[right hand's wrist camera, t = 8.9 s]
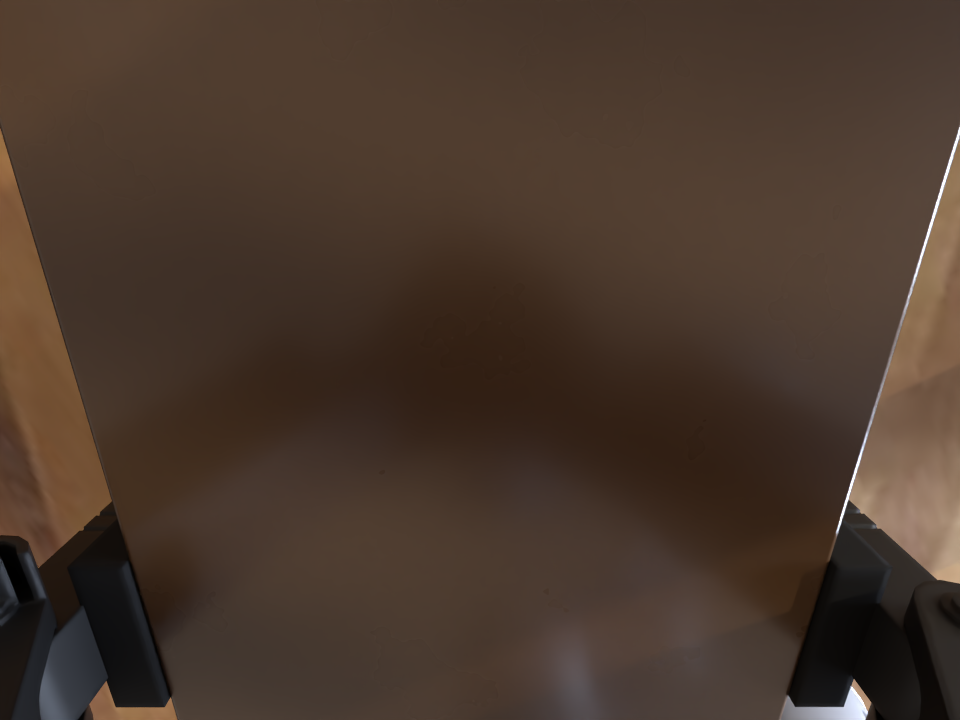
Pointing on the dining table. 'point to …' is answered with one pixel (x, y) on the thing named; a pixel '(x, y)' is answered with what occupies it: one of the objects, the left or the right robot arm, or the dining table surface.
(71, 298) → the wooden beam
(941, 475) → the dining table surface
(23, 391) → the dining table surface
